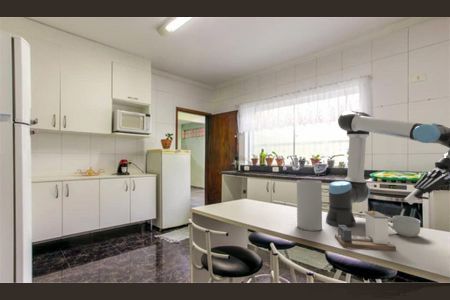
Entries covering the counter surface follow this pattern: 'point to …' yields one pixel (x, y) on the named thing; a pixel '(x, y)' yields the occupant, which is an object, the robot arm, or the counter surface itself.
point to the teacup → (405, 225)
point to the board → (365, 244)
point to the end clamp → (345, 233)
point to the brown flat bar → (360, 238)
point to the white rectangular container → (377, 227)
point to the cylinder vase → (309, 205)
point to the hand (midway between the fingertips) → (407, 201)
